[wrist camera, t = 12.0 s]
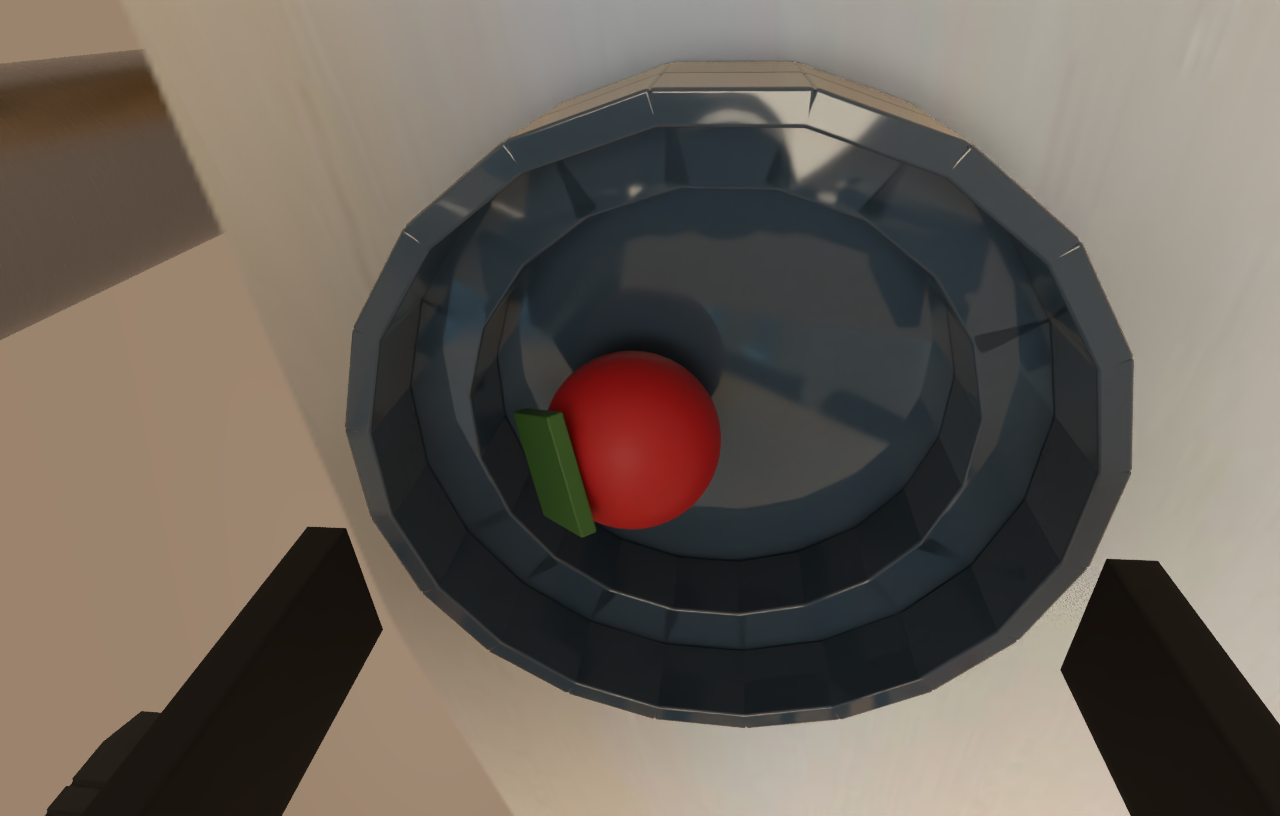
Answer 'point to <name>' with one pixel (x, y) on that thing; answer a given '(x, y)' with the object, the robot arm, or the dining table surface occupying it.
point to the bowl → (749, 395)
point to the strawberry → (622, 443)
